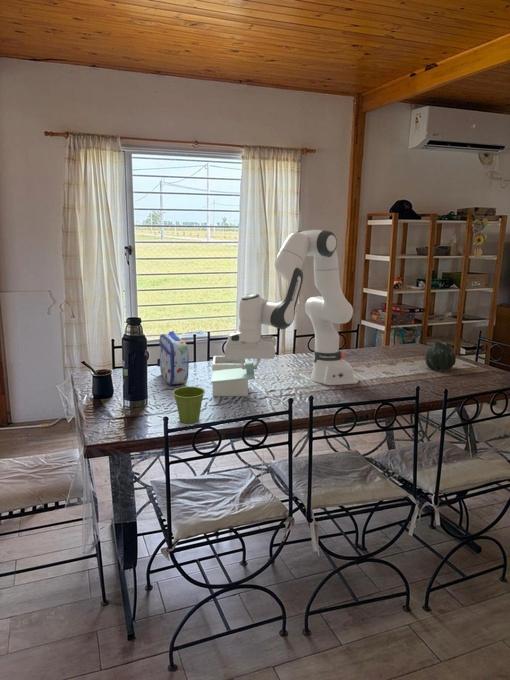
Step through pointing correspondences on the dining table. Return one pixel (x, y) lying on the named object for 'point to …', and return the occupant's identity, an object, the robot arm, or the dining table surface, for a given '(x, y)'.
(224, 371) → the lid
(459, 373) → the dining table surface
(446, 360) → the squash
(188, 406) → the plant pot
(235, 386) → the tub
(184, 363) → the lunch box
